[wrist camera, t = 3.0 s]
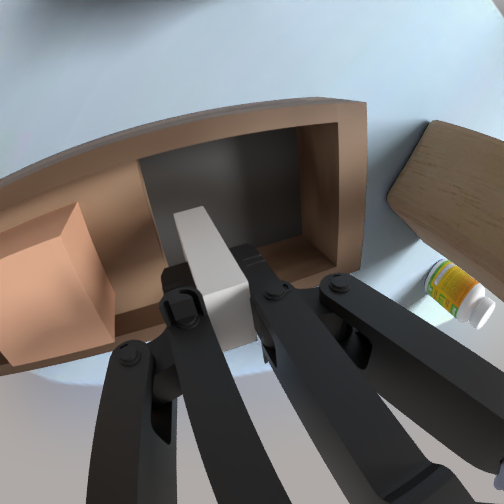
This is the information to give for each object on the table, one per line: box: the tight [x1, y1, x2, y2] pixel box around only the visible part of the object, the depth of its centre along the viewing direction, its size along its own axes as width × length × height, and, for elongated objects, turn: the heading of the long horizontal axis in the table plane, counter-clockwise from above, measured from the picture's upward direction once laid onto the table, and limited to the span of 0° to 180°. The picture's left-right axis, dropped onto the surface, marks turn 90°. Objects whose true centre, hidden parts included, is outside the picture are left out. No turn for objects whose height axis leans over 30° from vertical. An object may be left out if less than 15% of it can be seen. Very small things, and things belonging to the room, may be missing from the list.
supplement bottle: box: [425, 259, 495, 330], centre depth 30 cm, size 5×5×10 cm
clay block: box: [0, 202, 115, 366], centre depth 12 cm, size 6×7×4 cm
